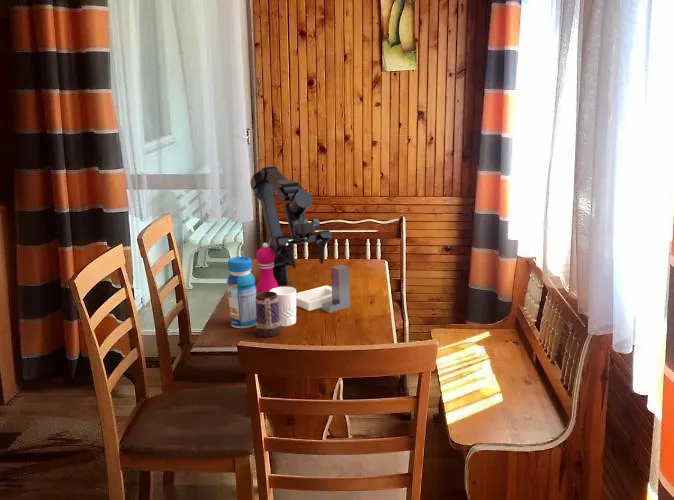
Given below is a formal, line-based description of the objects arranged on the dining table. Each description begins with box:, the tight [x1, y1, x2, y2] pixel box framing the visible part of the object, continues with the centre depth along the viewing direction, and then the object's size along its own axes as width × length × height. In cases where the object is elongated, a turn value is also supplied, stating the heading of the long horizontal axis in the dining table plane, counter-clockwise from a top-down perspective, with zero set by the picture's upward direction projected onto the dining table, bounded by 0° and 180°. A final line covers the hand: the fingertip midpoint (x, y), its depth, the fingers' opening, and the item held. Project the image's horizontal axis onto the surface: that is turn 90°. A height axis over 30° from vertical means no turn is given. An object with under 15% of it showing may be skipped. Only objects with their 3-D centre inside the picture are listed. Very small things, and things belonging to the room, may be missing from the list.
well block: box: [296, 285, 332, 312], centre depth 239 cm, size 11×15×2 cm
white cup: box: [270, 286, 297, 327], centre depth 220 cm, size 8×8×10 cm
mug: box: [255, 291, 282, 338], centre depth 211 cm, size 10×7×12 cm
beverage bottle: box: [226, 256, 257, 329], centre depth 219 cm, size 8×8×20 cm
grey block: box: [321, 264, 351, 314], centre depth 231 cm, size 4×8×13 cm, turn 127°
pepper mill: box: [255, 242, 279, 294], centre depth 237 cm, size 7×7×20 cm
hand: (308, 266), depth 233 cm, fingers open, 9 cm apart
